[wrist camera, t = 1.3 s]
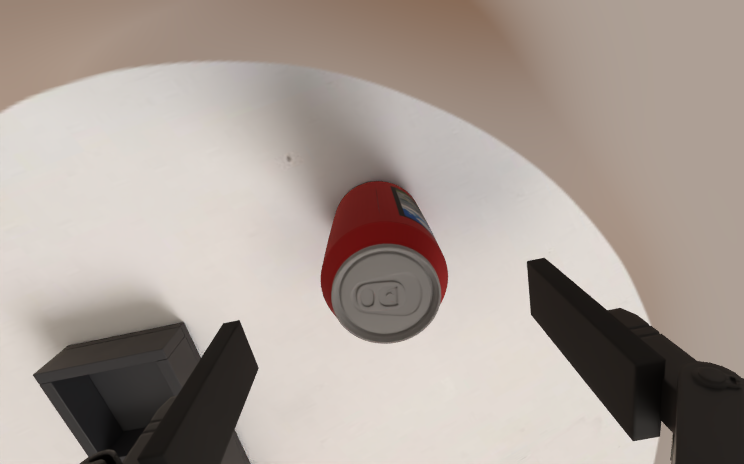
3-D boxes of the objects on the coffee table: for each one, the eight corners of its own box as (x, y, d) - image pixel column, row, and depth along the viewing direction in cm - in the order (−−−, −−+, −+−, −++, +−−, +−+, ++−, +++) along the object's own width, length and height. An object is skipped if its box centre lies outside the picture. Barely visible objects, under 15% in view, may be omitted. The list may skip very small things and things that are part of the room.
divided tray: (67, 346, 32) (32, 374, 29) (184, 322, 31) (162, 348, 28) (163, 501, 39) (144, 539, 36) (260, 484, 39) (250, 521, 35)
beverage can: (420, 255, 30) (455, 350, 18) (339, 261, 30) (324, 359, 18) (418, 175, 27) (457, 227, 16) (330, 181, 27) (307, 237, 16)
